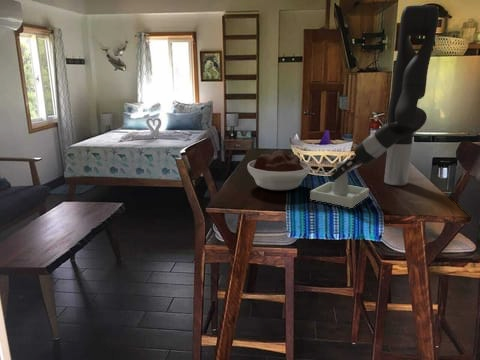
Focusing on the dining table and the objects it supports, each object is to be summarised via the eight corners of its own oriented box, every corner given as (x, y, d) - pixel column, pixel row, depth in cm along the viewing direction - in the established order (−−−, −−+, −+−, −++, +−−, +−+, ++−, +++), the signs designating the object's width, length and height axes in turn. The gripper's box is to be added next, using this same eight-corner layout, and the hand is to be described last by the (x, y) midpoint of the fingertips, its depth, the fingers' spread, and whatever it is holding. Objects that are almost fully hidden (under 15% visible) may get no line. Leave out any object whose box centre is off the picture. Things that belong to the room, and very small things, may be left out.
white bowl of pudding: (318, 194, 154) (321, 156, 150) (255, 198, 149) (255, 158, 145) (297, 178, 178) (298, 144, 174) (241, 180, 173) (241, 146, 169)
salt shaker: (348, 199, 146) (351, 164, 142) (332, 198, 147) (335, 163, 144) (348, 194, 151) (350, 160, 148) (332, 193, 152) (334, 159, 149)
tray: (328, 190, 160) (329, 181, 159) (368, 197, 151) (369, 188, 150) (309, 200, 148) (310, 190, 147) (351, 208, 139) (352, 199, 138)
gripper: (371, 137, 145) (339, 164, 154) (356, 142, 134) (322, 171, 143) (385, 153, 143) (351, 179, 153) (371, 160, 132) (335, 188, 142)
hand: (337, 175), depth 148 cm, fingers open, 8 cm apart
